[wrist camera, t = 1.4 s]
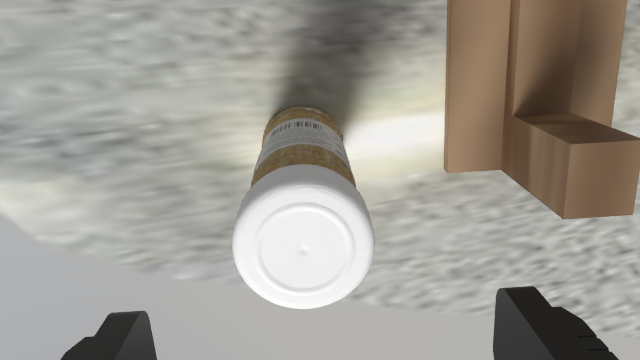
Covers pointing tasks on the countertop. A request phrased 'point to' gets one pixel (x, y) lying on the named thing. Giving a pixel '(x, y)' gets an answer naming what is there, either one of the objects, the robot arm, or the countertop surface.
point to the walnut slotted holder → (541, 101)
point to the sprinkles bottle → (303, 216)
